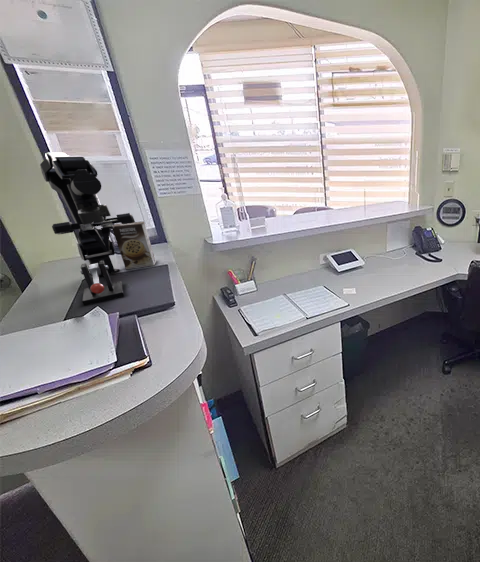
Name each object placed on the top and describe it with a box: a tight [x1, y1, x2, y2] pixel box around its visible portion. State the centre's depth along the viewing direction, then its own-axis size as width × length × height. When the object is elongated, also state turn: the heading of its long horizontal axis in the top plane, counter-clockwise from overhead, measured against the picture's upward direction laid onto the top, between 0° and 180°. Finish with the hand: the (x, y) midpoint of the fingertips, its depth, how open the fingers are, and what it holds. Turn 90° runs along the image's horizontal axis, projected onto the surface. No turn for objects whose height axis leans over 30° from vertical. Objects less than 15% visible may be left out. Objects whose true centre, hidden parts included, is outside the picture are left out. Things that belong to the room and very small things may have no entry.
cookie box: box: [111, 221, 157, 270], centre depth 116 cm, size 9×6×16 cm
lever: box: [87, 263, 104, 294], centre depth 86 cm, size 14×3×3 cm, turn 40°
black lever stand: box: [79, 260, 125, 306], centre depth 91 cm, size 12×9×10 cm
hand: (107, 251), depth 96 cm, fingers closed
